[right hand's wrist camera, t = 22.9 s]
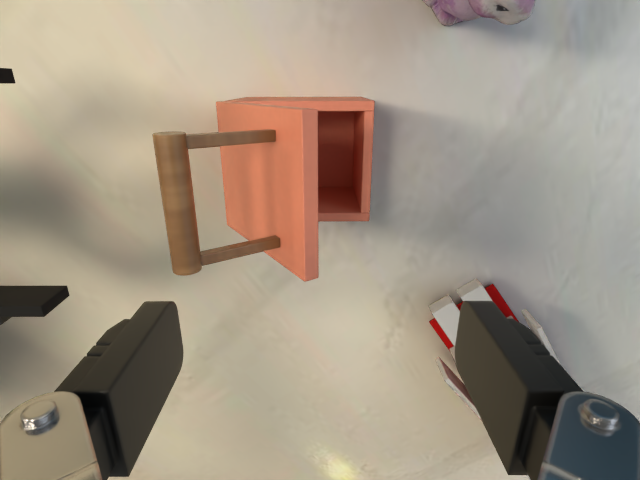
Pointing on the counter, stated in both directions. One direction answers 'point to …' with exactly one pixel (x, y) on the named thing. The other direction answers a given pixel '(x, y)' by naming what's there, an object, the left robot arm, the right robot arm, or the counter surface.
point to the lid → (248, 186)
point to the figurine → (481, 10)
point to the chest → (338, 152)
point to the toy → (448, 326)
